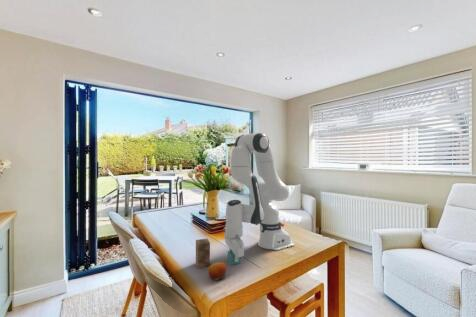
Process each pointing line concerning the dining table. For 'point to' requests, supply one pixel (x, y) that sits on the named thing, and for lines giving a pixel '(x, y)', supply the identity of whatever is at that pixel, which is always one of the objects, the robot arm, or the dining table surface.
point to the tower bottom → (202, 261)
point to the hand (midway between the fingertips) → (234, 258)
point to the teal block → (232, 258)
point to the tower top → (202, 247)
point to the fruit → (217, 270)
